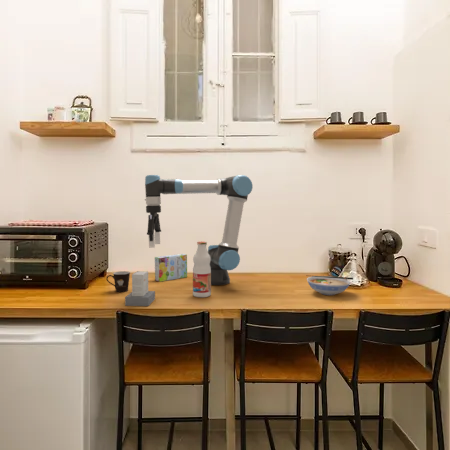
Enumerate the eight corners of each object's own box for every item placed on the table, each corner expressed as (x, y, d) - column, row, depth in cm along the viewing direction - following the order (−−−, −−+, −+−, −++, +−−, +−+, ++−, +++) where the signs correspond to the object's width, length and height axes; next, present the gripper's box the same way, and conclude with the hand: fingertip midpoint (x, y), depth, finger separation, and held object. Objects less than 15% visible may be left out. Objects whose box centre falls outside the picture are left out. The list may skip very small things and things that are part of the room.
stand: (155, 299, 172) (154, 291, 171) (148, 306, 160) (148, 297, 159) (133, 298, 172) (133, 290, 172) (125, 305, 160) (125, 297, 160)
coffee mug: (133, 289, 190) (133, 271, 189) (123, 293, 182) (123, 274, 181) (115, 288, 194) (115, 270, 193) (105, 291, 186) (105, 273, 185)
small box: (137, 292, 169) (137, 270, 169) (148, 292, 169) (148, 271, 168) (131, 296, 161) (131, 274, 161) (143, 296, 161) (143, 274, 160)
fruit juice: (214, 295, 179) (214, 242, 178) (200, 298, 173) (200, 243, 171) (203, 291, 186) (203, 240, 184) (189, 295, 180) (189, 241, 178)
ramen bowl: (301, 296, 178) (301, 281, 177) (306, 286, 199) (307, 273, 199) (352, 301, 169) (353, 285, 169) (352, 290, 190) (353, 276, 190)
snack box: (182, 276, 228) (182, 253, 227) (187, 277, 224) (187, 254, 223) (154, 280, 213) (154, 256, 213) (159, 282, 209) (159, 257, 208)
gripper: (151, 204, 191) (153, 242, 192) (139, 205, 166) (141, 249, 167) (165, 204, 190) (166, 242, 192) (155, 205, 166) (156, 248, 167)
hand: (154, 245), depth 180 cm, fingers open, 13 cm apart
